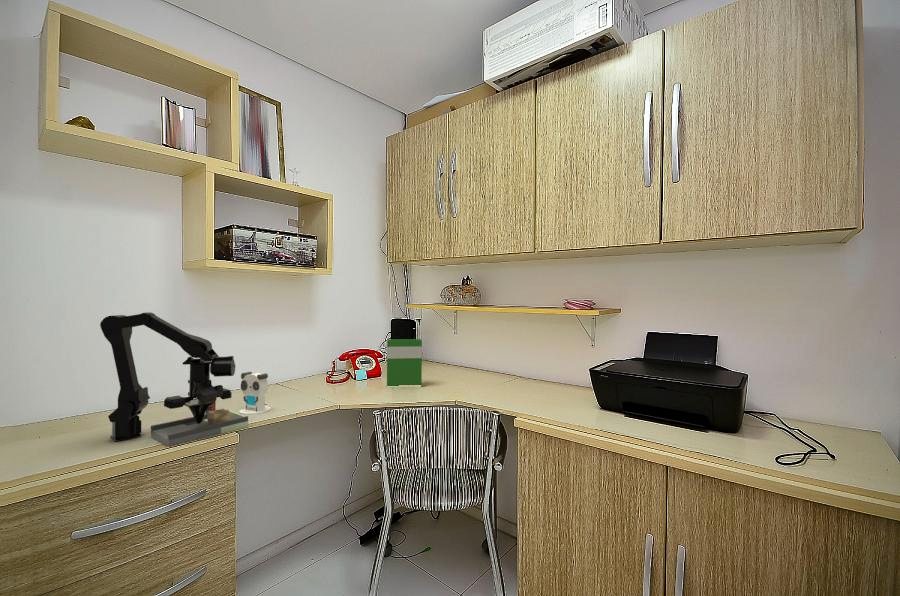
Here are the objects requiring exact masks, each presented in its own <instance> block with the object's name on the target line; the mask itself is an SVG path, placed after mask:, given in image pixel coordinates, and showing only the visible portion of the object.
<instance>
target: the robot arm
mask: <svg viewBox="0 0 900 596" xmlns="http://www.w3.org/2000/svg"><path fill="white" fill-rule="evenodd" d="M99 325H100V329H101V332H102V334H103V336H104V337H105V339H106V340H107V341H108V342H109V344H110V345H111V350H112V354H113V355H112V356H113V360H114V364H115V369H116V373H117V378H118V383H119V387H120V388H119V393H118V396H117V408H116V409H114V411H112V412H111V413H110V414H109V415H108V419H109V421H110V423H112V429H111V435H110V437H109V438H110V439H112V440H113V441H114V442H122V441H125V440H129V439H133V438H134V439H135V438H139V437H141V436H142V434H141V433H142V420H141V419H140V416H139V415H140V414H142V411H143V410H144V409H145V408H146V407H147V406H148V405H149V399H151V397H150V396H149V388H148V386H145V387H142V386H141V384H140V383H139V378H138V376H137V375H138V374H137V370H136V365H135V359H134V355H133V352H132V345H131V337H132V334H133V328H135V327H141V326H145V327H147V328H149V329H150V330H152V331H154V332H156V333H158V334H159V335H161V336H163V337H165V338H167V339H168V340H170V341H171V342H174V343H176V344H177V345H178V346H179V347H180V348H181V349H182V350H183V352H184V353H185V352H186V354H188V355H189V356H188V357H187V359H185V360H184V361H183V362H182V365H184V366H185V365H189V379H187V383H188V384H189V385H188V386H189V387H188V388H189V391H187V396H186V397H183V396H181V395H175V396H167V397H166V398H165V399H164V401H163V407H165V408H167V409H170V410H171V409H172V410H174V409H178V408H183V407H188V410H190V412H191V413H192V417H194V418H195V420H196V422H197V424H200V423H201V422H202V419H203V417H204V414H205V412H206V410H207V408H208V407H209V406H210V405H211V404H213V403H214V401H216V402H217V398H220V399H222V400H228V399H232V394H233V393H232V391H231V390H230V389H228V388H224V386H223V385H222V384H218V385H213V384H212V382H213V381H212V380H211V379H210V378H211V376H210V374H211V375H213V377H218V378H219V377H234V376H235V373H236V363H235V362H236V361H235V359H234V358H235V357H234V355H228V356H219V355H218V353H217V352H216V351H215V350H214V349H213V345H212V342H211V341H210V340H208V339H206V338H203V337H200V336H198V335H193V334H190V333H188V332H186V331H184V330H182V329H180V327H179V328H178V327H177V326H175V325H174V324H172V323H170V322H168V321H166V320H164V319H163V318H161V317H159V316H157V315H156V314H155V313H153V312H149V311H148V312H141V313H138V314H133V315H123V314H118V315H108V316H105V317H104V318H103V319H102V320H101V321H100V324H99ZM212 386H213V387H212Z"/></svg>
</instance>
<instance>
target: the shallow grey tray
mask: <svg viewBox="0 0 900 596" xmlns="http://www.w3.org/2000/svg"><path fill="white" fill-rule="evenodd" d="M227 410H228V411H230V420H228V421H224V422H219V423H215V424H212V423H209V422H208V414H204V417H203V419H202V422H201V423H200V424H197V422H196V420H195V418H194V416H191V417H186V418H182V419H176V420H172V421H167V422H162V423H158V424H152V425H150V438H153V439H154V440H156V441H158V442H159V441H160V442H159V443H161V442H162V443H161V444H163V445H165V446H167V447H168V448H169V447H174V446H177V445H181V444H185V443H189V442H193V441H198V440H202V439H205V438H209V437H214V436H216V435H221V434H225V433H228V432H232V431H236V430H241V429H244V428H248V427H249V415H248V416H247V415H246V414H241V413H239V412H236V411H233V410H231V409H227Z"/></svg>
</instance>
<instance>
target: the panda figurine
mask: <svg viewBox="0 0 900 596" xmlns="http://www.w3.org/2000/svg"><path fill="white" fill-rule="evenodd" d="M268 378H269V376H268V373H260V372H255V373H253V372H252V371H246V372H242V373H241V374H240V379H241V381H240V391H241V390H242V391H241V392H242V394H243V395H244V396H243V401H244V402H245V407H244V408H241V409H240V410H239V411H238V413H239V414H242V415H258V414H264V413H267V412H270V411H271V407H270V406H268V405H266V394H267V392H268V390H269V384H268V382H269V381H268Z"/></svg>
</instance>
